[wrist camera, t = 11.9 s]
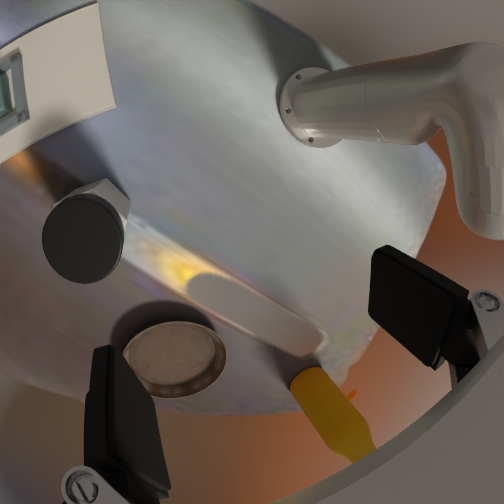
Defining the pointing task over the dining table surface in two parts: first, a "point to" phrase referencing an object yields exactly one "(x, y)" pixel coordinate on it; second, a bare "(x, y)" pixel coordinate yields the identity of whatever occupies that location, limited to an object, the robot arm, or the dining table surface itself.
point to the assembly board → (55, 79)
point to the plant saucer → (176, 358)
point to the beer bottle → (332, 414)
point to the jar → (86, 232)
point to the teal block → (5, 96)
